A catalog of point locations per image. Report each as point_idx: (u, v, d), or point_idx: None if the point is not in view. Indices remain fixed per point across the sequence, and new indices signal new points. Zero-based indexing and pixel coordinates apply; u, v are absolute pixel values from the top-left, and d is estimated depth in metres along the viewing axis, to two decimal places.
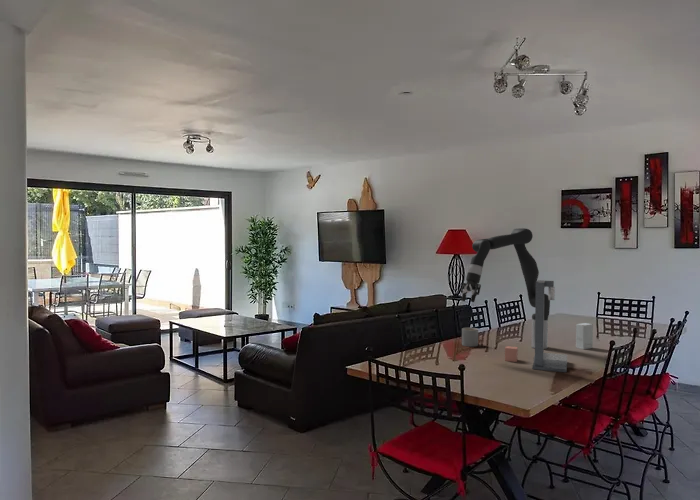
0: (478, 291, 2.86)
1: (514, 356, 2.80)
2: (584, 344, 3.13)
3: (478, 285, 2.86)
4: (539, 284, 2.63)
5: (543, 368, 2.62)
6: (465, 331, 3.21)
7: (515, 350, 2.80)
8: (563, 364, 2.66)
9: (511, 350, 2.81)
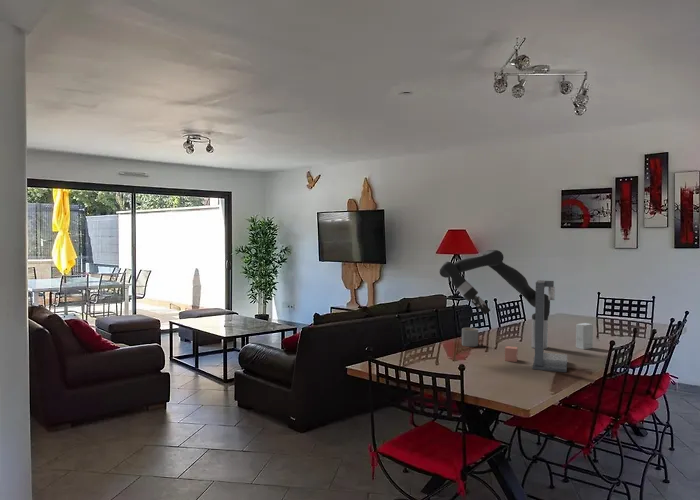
0: (479, 304, 2.83)
1: (514, 356, 2.80)
2: (584, 344, 3.13)
3: (473, 301, 2.84)
4: (539, 284, 2.63)
5: (543, 368, 2.62)
6: (465, 331, 3.21)
7: (515, 350, 2.80)
8: (563, 364, 2.66)
9: (511, 350, 2.81)
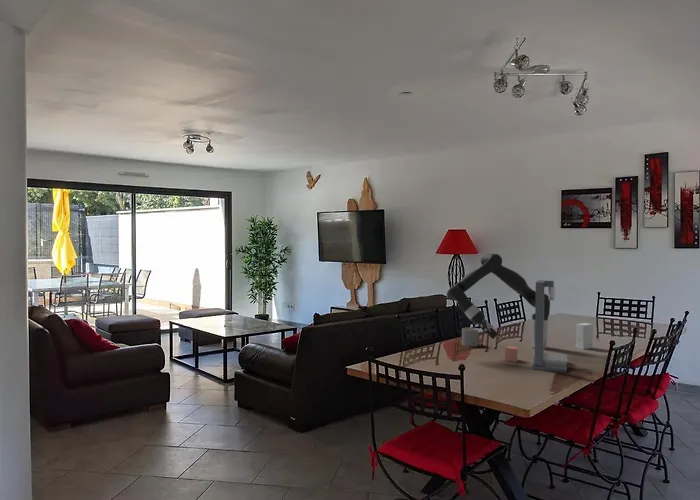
0: (486, 329, 2.82)
1: (514, 356, 2.80)
2: (584, 344, 3.13)
3: (480, 326, 2.83)
4: (539, 284, 2.63)
5: (543, 368, 2.62)
6: (465, 331, 3.21)
7: (515, 350, 2.80)
8: (563, 364, 2.66)
9: (511, 350, 2.81)
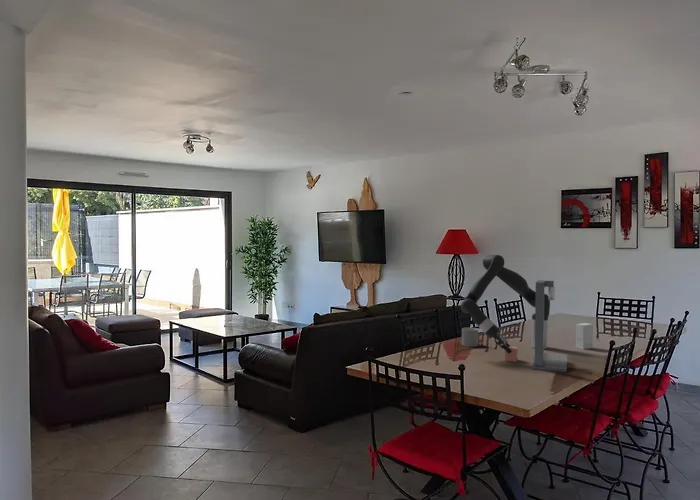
0: (502, 343, 2.80)
1: (514, 356, 2.80)
2: (584, 344, 3.13)
3: (496, 341, 2.80)
4: (539, 284, 2.63)
5: (543, 368, 2.62)
6: (465, 331, 3.21)
7: (515, 350, 2.80)
8: (563, 364, 2.66)
9: (511, 350, 2.81)
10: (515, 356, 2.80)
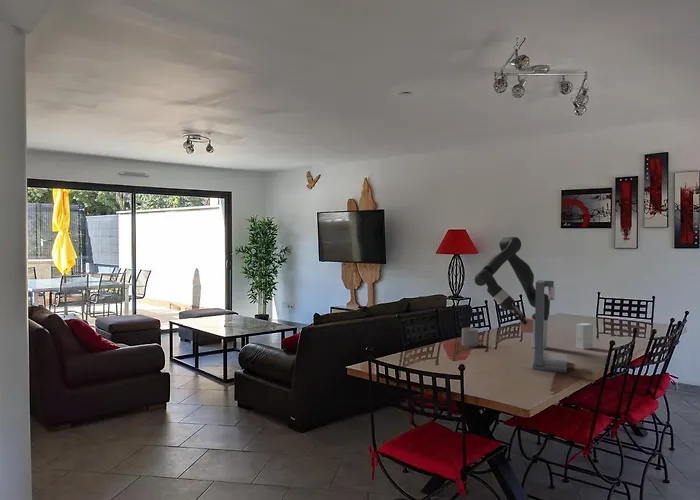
0: (518, 314, 2.76)
1: (530, 327, 2.77)
2: (584, 344, 3.13)
3: (512, 312, 2.77)
4: (539, 284, 2.63)
5: (543, 368, 2.62)
6: (465, 331, 3.21)
7: (531, 321, 2.77)
8: (563, 364, 2.66)
9: (527, 321, 2.77)
10: (531, 327, 2.77)
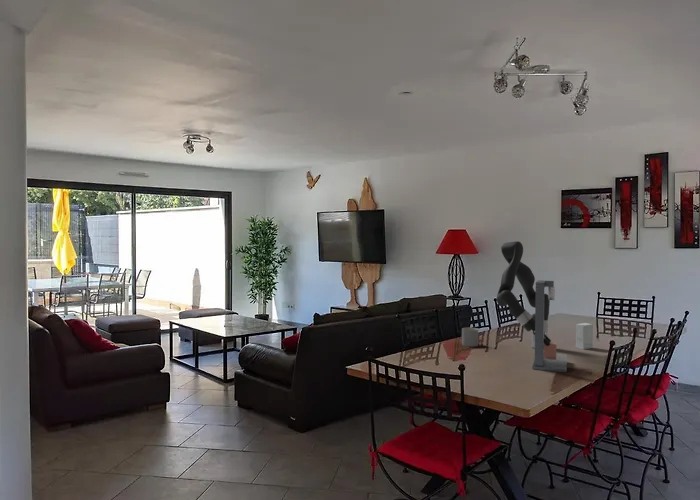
0: None
1: (554, 352, 2.72)
2: (584, 344, 3.13)
3: (534, 332, 2.72)
4: (539, 284, 2.63)
5: (543, 368, 2.62)
6: (465, 331, 3.21)
7: (554, 346, 2.72)
8: (563, 364, 2.66)
9: (550, 346, 2.73)
10: (554, 352, 2.72)
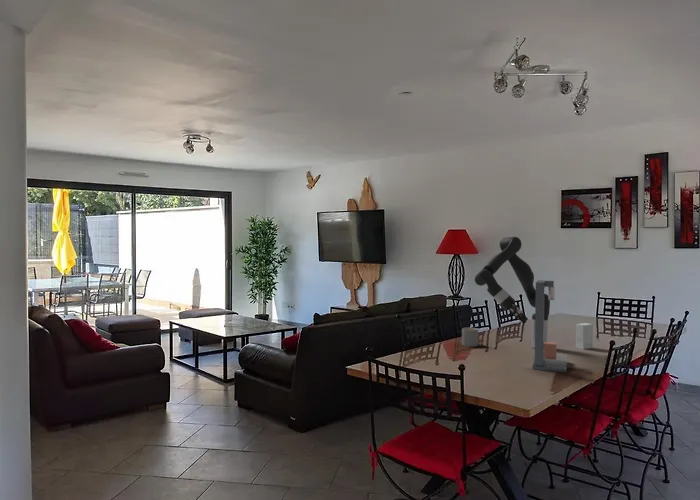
0: (517, 313, 2.76)
1: (554, 352, 2.72)
2: (584, 344, 3.13)
3: (511, 310, 2.77)
4: (539, 284, 2.63)
5: (543, 368, 2.62)
6: (465, 331, 3.21)
7: (554, 346, 2.72)
8: (563, 364, 2.66)
9: (550, 346, 2.73)
10: (554, 352, 2.72)
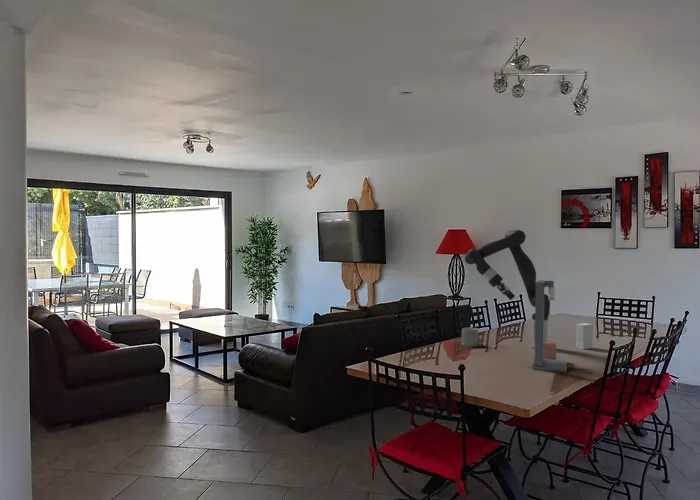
0: (504, 290, 2.90)
1: (554, 352, 2.72)
2: (584, 344, 3.13)
3: (499, 287, 2.91)
4: (539, 284, 2.63)
5: (543, 368, 2.62)
6: (465, 331, 3.21)
7: (554, 346, 2.72)
8: (563, 364, 2.66)
9: (550, 346, 2.73)
10: (554, 352, 2.72)
